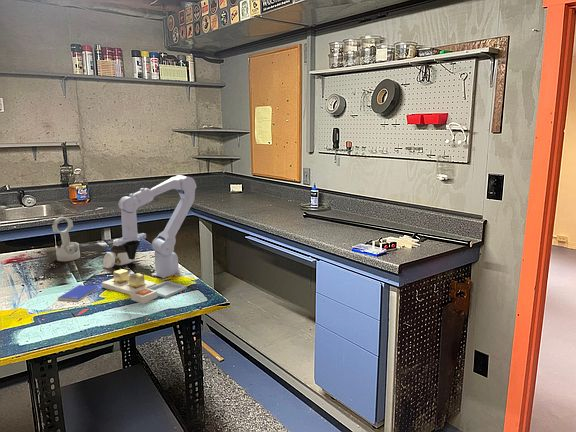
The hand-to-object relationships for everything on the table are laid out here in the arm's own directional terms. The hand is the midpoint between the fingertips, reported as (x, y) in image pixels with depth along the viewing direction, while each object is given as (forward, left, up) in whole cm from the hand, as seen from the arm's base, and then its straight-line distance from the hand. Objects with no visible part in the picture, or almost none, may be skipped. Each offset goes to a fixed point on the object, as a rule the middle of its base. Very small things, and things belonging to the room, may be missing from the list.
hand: (131, 258), depth 176 cm
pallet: (+5, +4, -10) cm, 12 cm away
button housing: (+10, +18, -10) cm, 23 cm away
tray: (0, +19, -10) cm, 22 cm away
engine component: (-4, -52, -10) cm, 53 cm away
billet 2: (+5, +9, -10) cm, 14 cm away
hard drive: (+20, -7, -11) cm, 24 cm away
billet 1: (+5, -1, -10) cm, 11 cm away
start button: (+10, +18, -9) cm, 23 cm away
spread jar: (-10, -22, -10) cm, 26 cm away
